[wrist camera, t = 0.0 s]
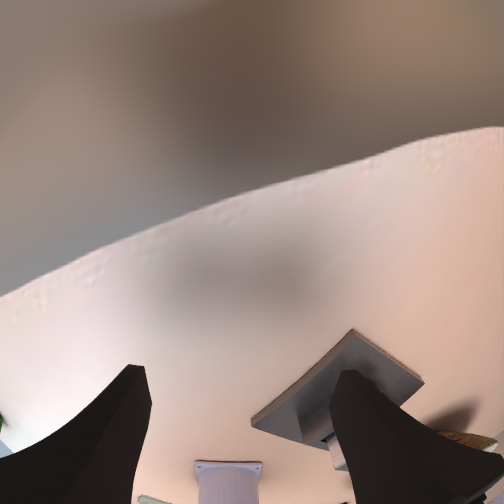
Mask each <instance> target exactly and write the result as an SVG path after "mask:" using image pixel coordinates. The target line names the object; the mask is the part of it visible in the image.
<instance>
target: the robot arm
mask: <svg viewBox="0 0 504 504" xmlns="http://www.w3.org/2000/svg"><path fill="white" fill-rule="evenodd" d="M151 406H152V401H151V396H150V392H149V387H148V383H147V378H146V373H145V368H144V366H138V365H131V364H128V365H127V366H126V367H125V368H124V369H123V370H122V371H121V372H120V373H119V374H118V376H117V377H116V378H115V379H114V380H113V381H112V382H111V383H110V384H109V385H108V386H107V387H106V388H105V389H104V390H103V391H102V392H101V393H100V394H99V395H98V396H97V397H96V398H95V399H94V400H93V401H92V402H91V403H90V404H89V405H88V406H87V407H86V408H84V409H83V410H82V411H81V412H80V413H79V414H78V415H77V416H75V417H74V418H73V419H72V420H70V421H69V422H68V423H67V424H65V425H64V426H62V427H61V428H60V429H58V430H57V431H55V432H54V433H52V434H51V435H49V436H48V437H46V438H44V439H43V440H41V441H39V442H37V443H36V444H34V445H32V446H30V447H27V448H25V449H23V450H21V451H19V452H16V453H14V454H11V455H9V456H6V457H3V458H0V504H131V498H132V490H133V482H134V476H135V472H136V468H137V464H138V461H139V457H140V453H141V450H142V446H143V443H144V439H145V436H146V432H147V429H148V425H149V419H150V413H151ZM329 410H330V415H331V420H332V424H333V428H334V431H335V434H336V437H337V440H338V442H339V445H340V448H341V451H342V453H343V456H344V459H345V461H346V464H347V467H348V470H349V473H350V476H351V480H352V484H353V489H354V494H355V499H356V504H484V503H483V501H484V500H486V498H487V497H486V495H485V492H486V491H487V490H488V489H490V488H491V487H492V486H493V485H494V484H495V483H497V482H498V481H499V480H500V479H501V478H502V477H503V476H504V459H503V457H502V456H501V454H496V453H492V452H487V451H483V450H479V449H475V448H472V447H469V446H466V445H463V444H461V443H458V442H456V441H453V440H451V439H449V438H447V437H445V436H443V435H441V434H439V433H437V432H435V431H433V430H432V429H430V428H428V427H427V426H425V425H423V424H422V423H420V422H419V421H417V420H416V419H414V418H413V417H412V416H410V415H409V414H407V413H406V412H405V411H403V410H402V409H401V408H400V407H398V406H397V405H396V404H395V403H393V402H392V401H391V400H390V399H389V398H388V397H386V396H385V395H384V394H383V393H382V392H381V391H380V390H378V389H377V388H376V387H375V386H374V385H373V384H372V383H371V382H370V381H368V380H367V379H366V378H365V377H364V376H363V375H362V374H361V373H360V372H358V371H357V370H356V369H353V370H342V371H341V373H340V376H339V379H338V382H337V384H336V387H335V390H334V393H333V395H332V398H331V401H330V403H329ZM195 469H196V475H197V480H198V485H199V503H198V504H259V498H258V488H257V485H258V481H259V477H260V473H261V469H262V463H224V462H204V461H196V462H195ZM487 504H504V491H503V492H502V493H500V494H499V495H498V496H497V497H495V498H494V499H493V500H491V501H490V502H489V503H487Z"/></svg>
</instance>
